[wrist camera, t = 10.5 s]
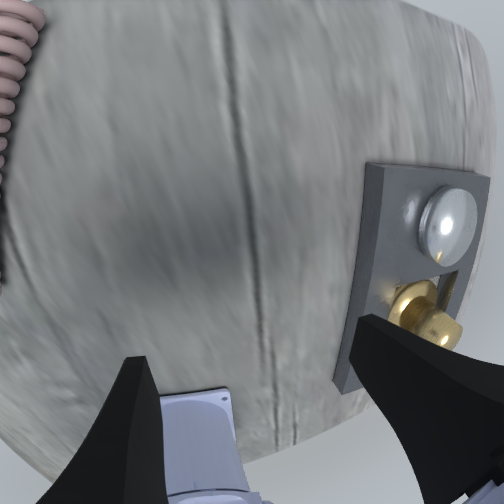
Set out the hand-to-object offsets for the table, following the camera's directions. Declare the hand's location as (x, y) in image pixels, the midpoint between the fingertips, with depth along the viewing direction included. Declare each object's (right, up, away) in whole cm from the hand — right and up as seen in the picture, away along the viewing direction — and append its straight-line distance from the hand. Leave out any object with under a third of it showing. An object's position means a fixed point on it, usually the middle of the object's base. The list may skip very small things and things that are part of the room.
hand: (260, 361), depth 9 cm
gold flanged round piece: (+14, -2, +15) cm, 21 cm away
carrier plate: (+14, +1, +14) cm, 20 cm away
